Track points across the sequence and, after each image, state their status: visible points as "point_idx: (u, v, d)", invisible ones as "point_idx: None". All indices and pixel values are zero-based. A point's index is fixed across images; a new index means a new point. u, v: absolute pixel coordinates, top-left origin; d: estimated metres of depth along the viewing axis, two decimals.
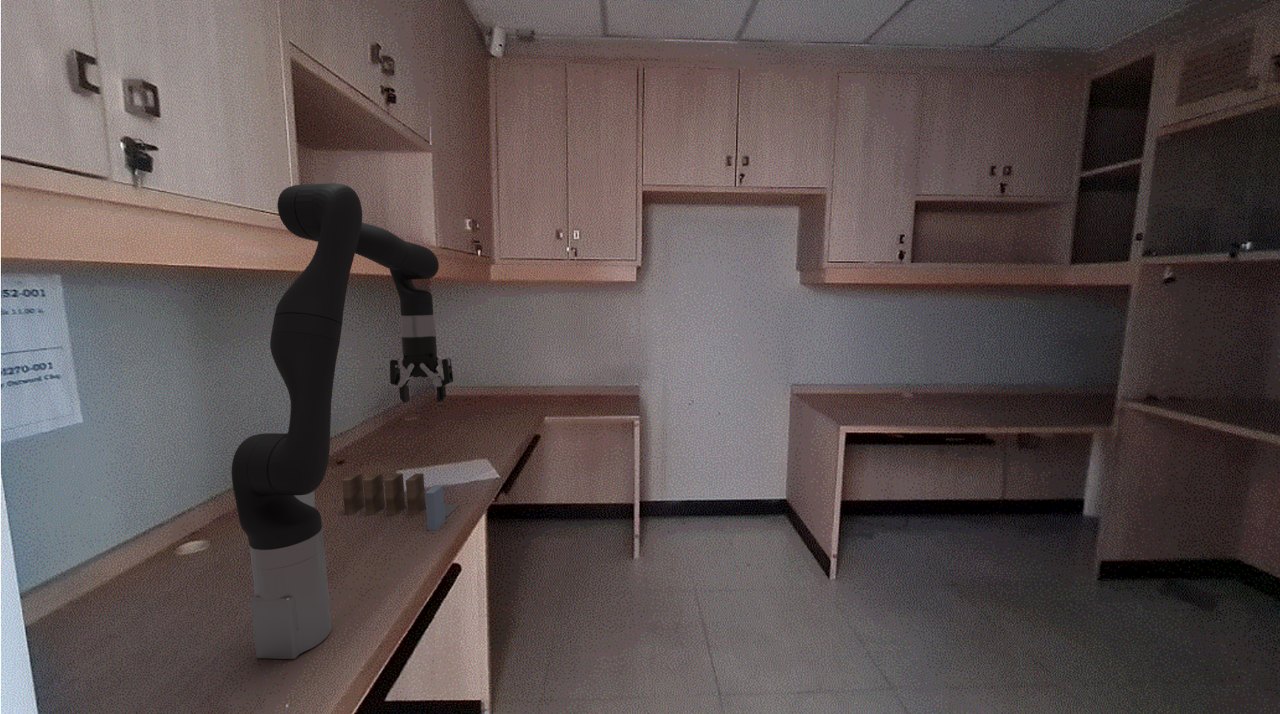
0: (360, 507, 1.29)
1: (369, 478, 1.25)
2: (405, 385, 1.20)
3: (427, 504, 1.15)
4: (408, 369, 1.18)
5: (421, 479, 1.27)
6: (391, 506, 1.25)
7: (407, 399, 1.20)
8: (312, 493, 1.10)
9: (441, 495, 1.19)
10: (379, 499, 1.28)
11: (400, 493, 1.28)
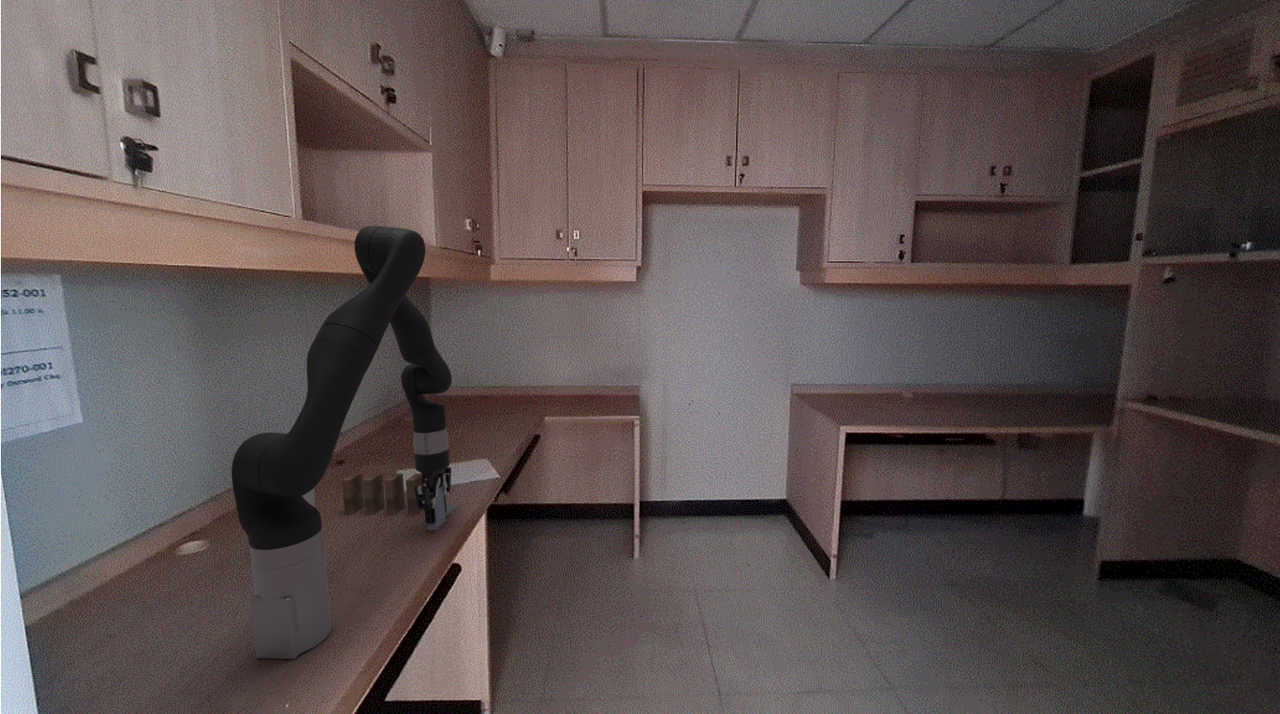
0: (360, 507, 1.29)
1: (369, 478, 1.25)
2: None
3: None
4: (437, 485, 1.15)
5: None
6: (391, 506, 1.25)
7: None
8: (312, 493, 1.10)
9: (441, 495, 1.19)
10: (379, 499, 1.28)
11: (400, 493, 1.28)
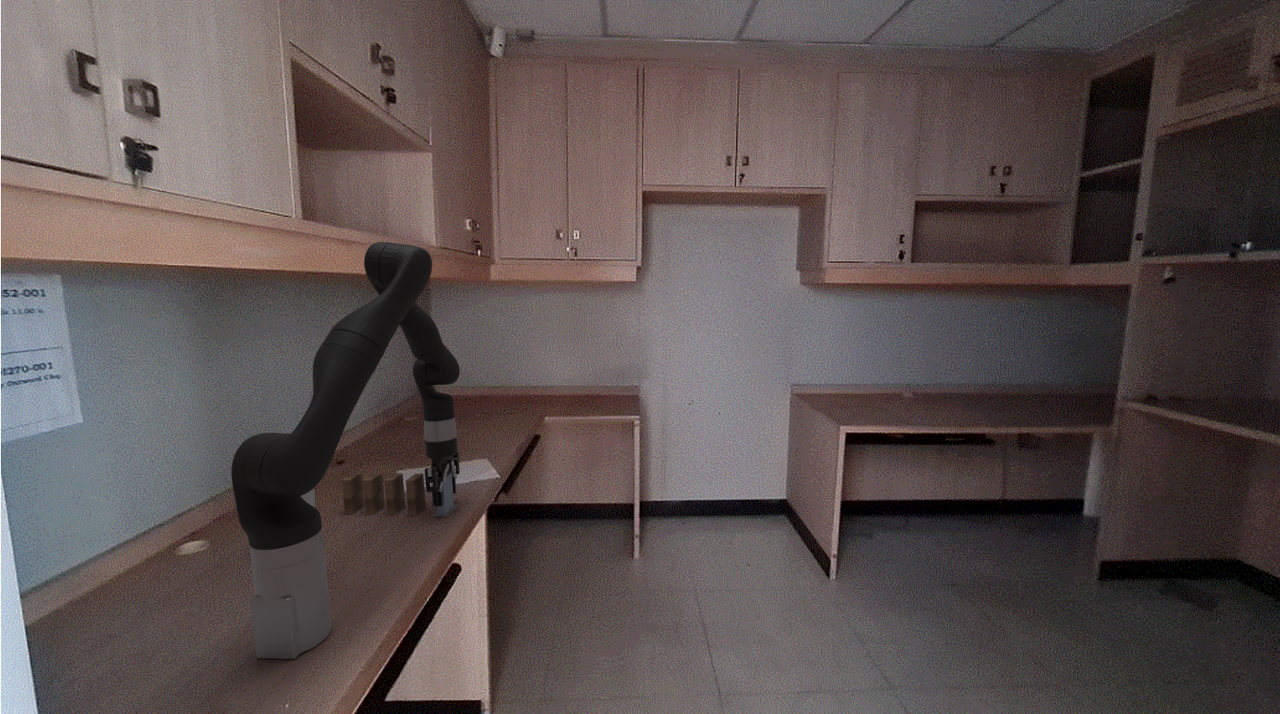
0: (360, 507, 1.29)
1: (369, 478, 1.25)
2: None
3: None
4: (446, 470, 1.23)
5: (421, 479, 1.27)
6: (391, 506, 1.25)
7: None
8: (312, 493, 1.10)
9: (449, 482, 1.27)
10: (379, 499, 1.28)
11: (400, 493, 1.28)
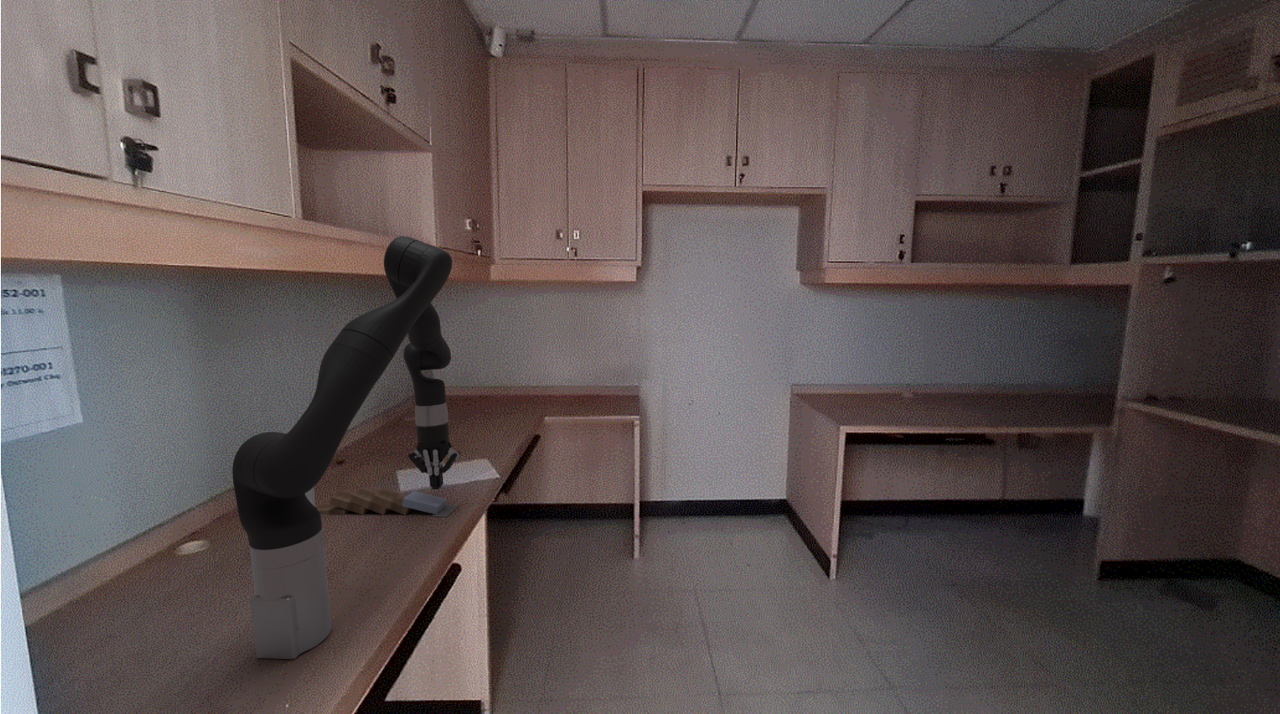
0: None
1: None
2: None
3: (412, 507, 1.24)
4: None
5: (386, 491, 1.28)
6: (376, 506, 1.25)
7: None
8: (312, 493, 1.10)
9: (418, 495, 1.28)
10: None
11: None
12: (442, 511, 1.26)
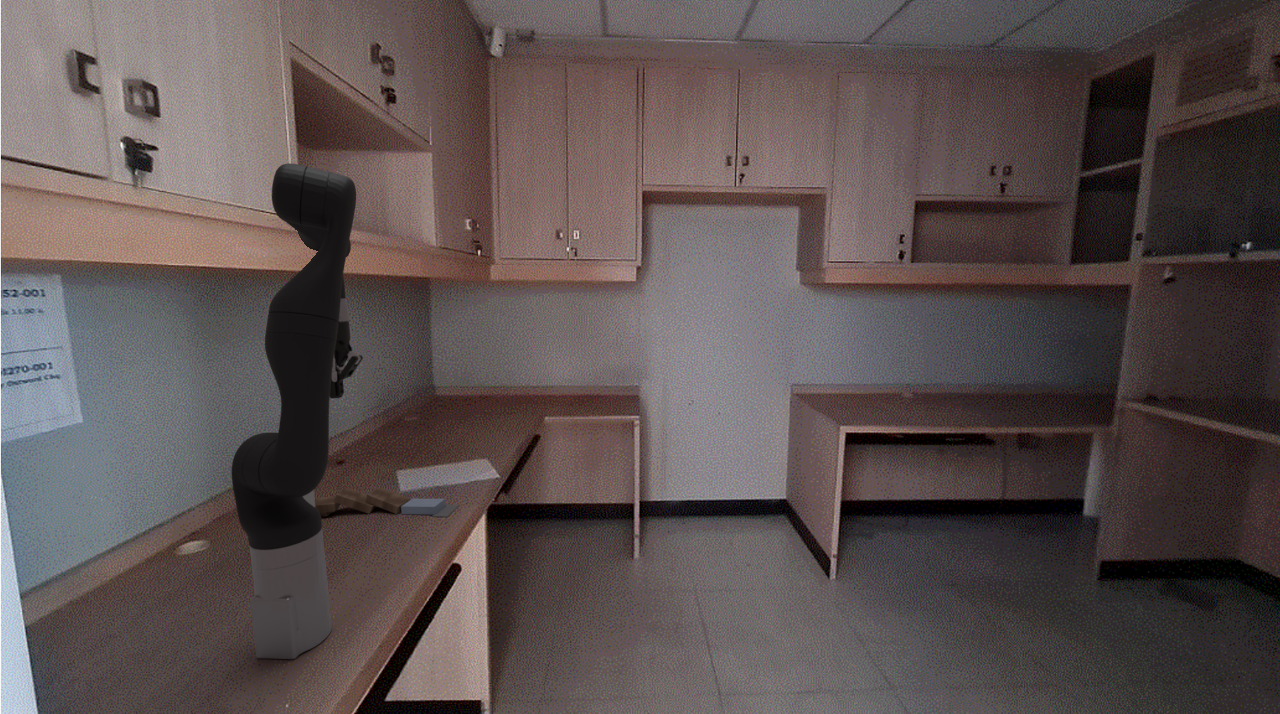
0: None
1: None
2: None
3: (411, 512, 1.25)
4: None
5: (380, 490, 1.30)
6: (362, 505, 1.25)
7: None
8: (312, 493, 1.10)
9: (416, 500, 1.28)
10: (325, 500, 1.26)
11: (361, 496, 1.28)
12: (442, 511, 1.26)
